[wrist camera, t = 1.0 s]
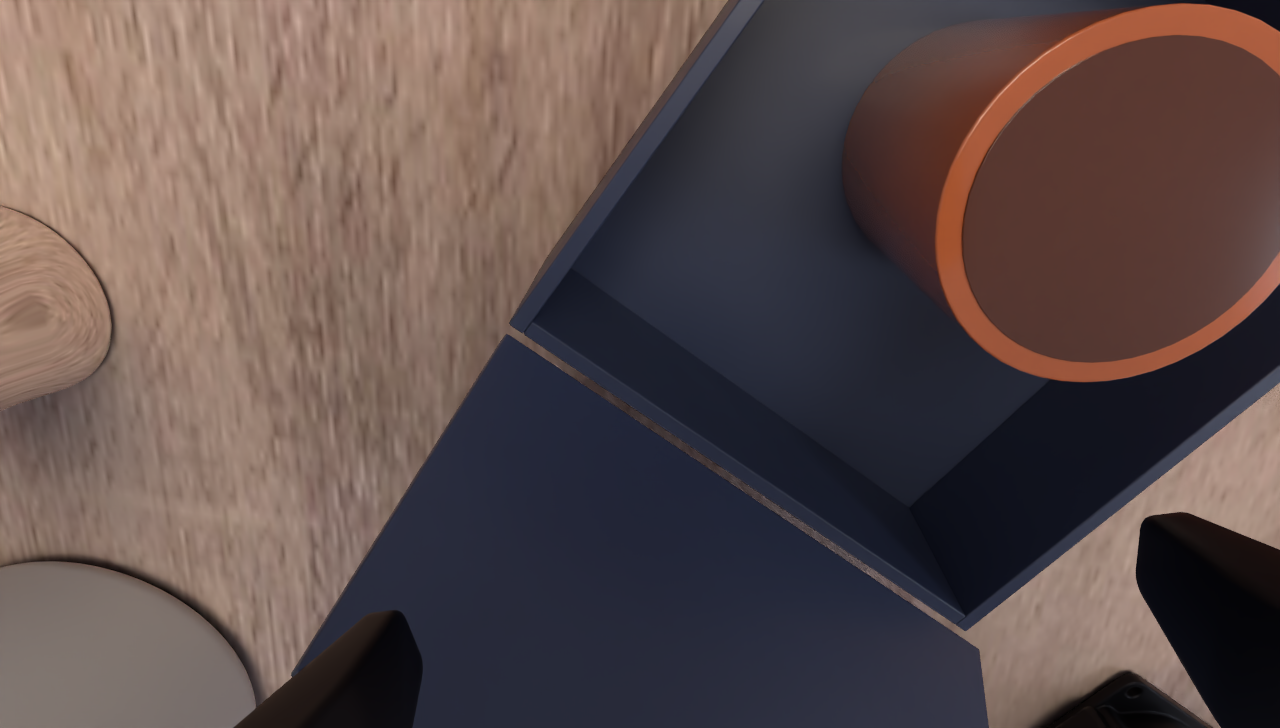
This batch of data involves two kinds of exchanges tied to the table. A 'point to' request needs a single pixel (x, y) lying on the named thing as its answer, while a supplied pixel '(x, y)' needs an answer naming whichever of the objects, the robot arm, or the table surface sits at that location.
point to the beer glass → (46, 312)
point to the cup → (1079, 181)
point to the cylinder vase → (110, 654)
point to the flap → (631, 585)
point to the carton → (852, 321)
